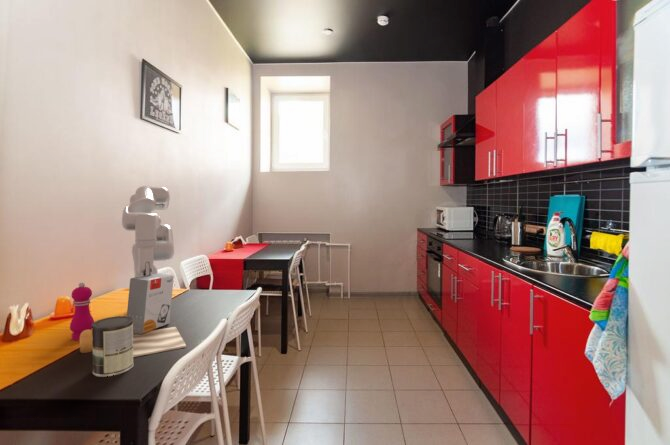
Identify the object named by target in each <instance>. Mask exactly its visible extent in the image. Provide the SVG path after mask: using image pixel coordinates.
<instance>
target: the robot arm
mask: <svg viewBox="0 0 670 445" xmlns="http://www.w3.org/2000/svg"><path fill="white" fill-rule="evenodd" d="M170 196H171V195H170V191H169V190H168V188H166V187H164V186H155V185H154V186H153V185H143V186H142V185H141V186H139V187H138V188H136V191H135V194H132V195H131V196H130V198H129V204H127V205H126V206H124V208H123V210H122V217H121V225H122V227H123V229H124V230H125V231H128V232H134V234H135V235H134V238H135V242H134V244H133V245H132V246H131V254H132V260H133V266H134V267H133V270H134V274H133V275H134V278H135V277H141V276H149V275H153V274H159V273H158V269H157V267H156V266H155V265H154V262H160V261H170V260H172V259H173V258H174V256H175V246H174V243H175V242H174V234H173V229H172V226H170V225H169V224H167V223H166V224H165V223H164V224H163V223H162V220H161V219H162V218H161V217H160V215H159V214H157V213H156V212H155V211H165V210H167V209H168V208H169V205H170Z"/></svg>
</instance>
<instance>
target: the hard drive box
mask: <svg viewBox="0 0 670 445" xmlns="http://www.w3.org/2000/svg"><path fill="white" fill-rule="evenodd" d="M174 279H175V276H174V275H172V274H165V273H158V274H153V275H149V276H141V277H135V276H134V277H131V278H130V279H129V288H128V290H129V291H128V297H127V298H128V299H127V310H126V316H128V317H132V318H133V333H139V334H143V333H146V332H149V331H152V330H157V329H158V328H159V329H160V328H161V327H165V326H166V325H168V324H170V320H171V310H172V299H173V298H172V297H173V289H174V288H173V287H174Z"/></svg>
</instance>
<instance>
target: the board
mask: <svg viewBox="0 0 670 445" xmlns="http://www.w3.org/2000/svg"><path fill="white" fill-rule="evenodd" d="M182 348H187V344H186V342H185V341H184V338H183V337H182V335H181V334H180V332H179V330H178V328H177V327H176V326H171V327H166V328H165V327H163V328H159V329H158V328H157V329H153V330H151V331H149V332H146V333H143V334H139V333H133V358H136V357H141V356H146V355H152V354H156V353H157V354H158V353H163V352H169V351H173V350H178V349H182Z"/></svg>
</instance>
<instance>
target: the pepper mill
mask: <svg viewBox="0 0 670 445" xmlns="http://www.w3.org/2000/svg"><path fill="white" fill-rule="evenodd" d="M92 295H93V291H92V289H91V288H90V287H88V286H86V284H85V283H84V282H80V283H78V287H75V288H74V289H73V290H72V292H71V298H72V300H74V301H73V304H72V305H73V306H74V314H73V317H72V318H71V321H70V324H69V330H71V331H72V333H71V340H73V341H80V335H81V333H82V332H83V331H84V330H87V329H90V330H92V323H94V322H95V320H94V318H93V316H92V314H91V313H90V304H91V299H90V298H91V297H92Z"/></svg>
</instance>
